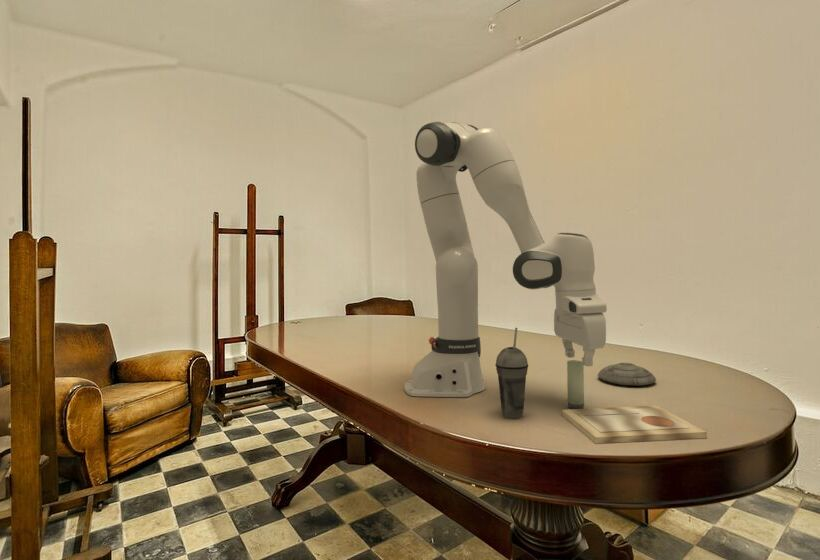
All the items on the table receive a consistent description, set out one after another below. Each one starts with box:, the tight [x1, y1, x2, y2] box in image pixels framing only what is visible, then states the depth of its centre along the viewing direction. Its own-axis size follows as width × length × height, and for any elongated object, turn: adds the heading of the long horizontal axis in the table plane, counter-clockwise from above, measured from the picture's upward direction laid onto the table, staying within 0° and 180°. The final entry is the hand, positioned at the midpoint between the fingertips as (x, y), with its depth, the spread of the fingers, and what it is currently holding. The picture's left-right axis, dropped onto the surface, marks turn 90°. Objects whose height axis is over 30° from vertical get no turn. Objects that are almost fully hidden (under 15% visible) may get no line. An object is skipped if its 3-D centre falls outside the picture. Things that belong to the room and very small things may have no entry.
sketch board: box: [561, 405, 708, 444], centre depth 93 cm, size 22×16×2 cm
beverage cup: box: [495, 327, 529, 420], centre depth 100 cm, size 7×7×20 cm
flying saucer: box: [597, 362, 657, 387], centre depth 127 cm, size 15×15×6 cm
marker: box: [566, 359, 585, 409], centre depth 104 cm, size 4×4×11 cm
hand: (578, 361), depth 104 cm, fingers open, 8 cm apart
